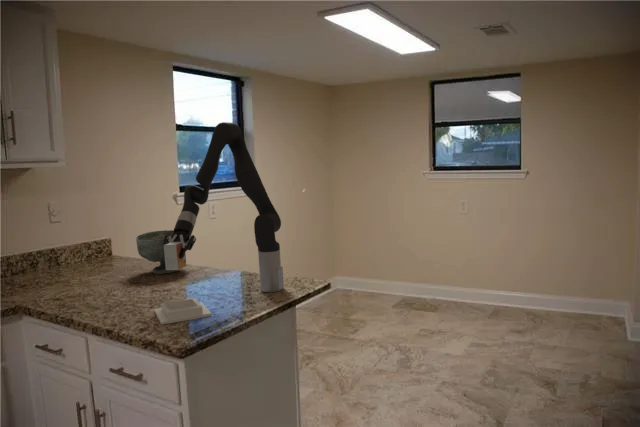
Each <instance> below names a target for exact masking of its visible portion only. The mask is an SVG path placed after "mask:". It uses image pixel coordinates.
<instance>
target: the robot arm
mask: <svg viewBox="0 0 640 427" xmlns="http://www.w3.org/2000/svg"><path fill="white" fill-rule="evenodd" d="M243 135H244V134H243V133H242V130H241V128H240V126H239V125H238V124H237V123H234V122H228V121H227V122H225V121H223V122H219V123H218V124H216V125H215V127H214V129H213V133H212V136H211V139H210V143H209V145H208V148H207V152H206V155H205V158H204V159H203V162H202V164H201V166H200V168H199V170H198V172H197V174H196V176H195V181H196V182H197V183H198V184H199V185H200V186H202V187H203V188H202V187H200V186H197V185H195V184H193V183H192V184H191V183H190V184H188V185H186V187H185V188H184V191H183V205H182V208H181V211H180V213H179V216H178V217H177V220H176V223H175V225H174V228H173V231H174V232H173V234H172V235H171V236H167V235H166V236H165V237H164V242H163V248H164V245H166V244H168V243H172V242H182V249H181V250H180V253H179V258H180V259H182V258H183V257H184V255H185V254H186V252H188V251H191V250H192V249H193V246H194V245H195V243H196V241H197V238H196V236H195V235H194V234H193V231H194V228H195V225H196V221H197V218H198V215H199V212H200V206H201V205H202V206H203V205H204V204H206V203H207V201H208V199H209V194H210V188H211V185H212V182H213V180H214V179H215V177H216V174H217V173H218V169H219V165H220V163H219V162H220V158H221V154H222V152H223V151H224V149H225V147H226V146H228V147H229V149H230V152H231V153H232V156H233V159H234V173H235V177H236V180H237V182H238V185H239V187H240V188H241V190H242V191H243V193H244V194H245V195H246V196H247V198H248V199H249V200H250V201H251V202H252V203H253V204H254V206H255V209H256V210H257V212H258V215H257V216H256V217H255V219H254V223H253V224H254V225H253V230H254V231H253V232H254V239H255V245H256V246H257V252H258V255H257V256H258V271H259V284H260V291H261V292H263V293H277V292H280V291H282V290H283V289H285V288H284V287H285V286H284V269H283V266H282V264H281V247H280V246H281V245H280V243H279V242H278V241H277V240H276V233H277V232H278V231H279V230H280V228H281V227H282V220H281V217H280V214H279V213H278V211H277V210H276V208H275V206H274V205H273V203H272V201H271V199H270V197H269V195H268V193H267V191H266V188H265V185H264V184H263V181H262V179H261V177H260V174H259V172H258V170H257V168H256V166H255V163H254V162H253V159H252V156H251V155H250V152H249V150H248V148H247V145H246V141H245V139H244V136H243ZM199 205H200V206H199ZM192 234H193V235H192ZM170 240H171V241H170ZM188 240H189V242H188V244H187V243H186V242H187V241H188ZM164 256H165V255H164Z"/></svg>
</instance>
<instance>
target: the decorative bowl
mask: <svg viewBox="0 0 640 427" xmlns="http://www.w3.org/2000/svg"><path fill="white" fill-rule="evenodd" d="M173 232H174V229H173V230H156V231H148V232H145V233H141V234H139V235H137V236H136V237H135V240H136V247H137V253H138V255H139V256H140V257H141V258H143V259H145V260H147V261H149V262H153V263H157V262H159V265H158V266H155V267H154V268H153V269H152V273H153V274H157V275H159V274H160V275H163V274H169V273H176V272H179V270H166V266H165V256H164V248H163V242H164V237H165V236H166V235H167V236H171V235H172V234H173ZM170 241H171V240H170ZM188 242H189V240H188V241H187V242H186V243H187V244H188Z"/></svg>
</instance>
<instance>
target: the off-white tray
mask: <svg viewBox="0 0 640 427" xmlns="http://www.w3.org/2000/svg"><path fill="white" fill-rule="evenodd" d="M153 311H154V313H155V315H156V316H155V317H157V320H158V322H159V323H160V325H161V326H162V325H166V324H167V325H168V324H173V323H178V322H184V321H191V320H196V319H201V318H207V317H212V312H211V311H210V310H209V308H208V307H207V306H205V304H204V303H203V302H202V301H198V300H197V299H196V298H195V297H191V298H184V299H178V300H171V301H170V300H169V301H164V302H161V307H160V308H154V310H153Z"/></svg>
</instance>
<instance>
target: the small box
mask: <svg viewBox="0 0 640 427" xmlns="http://www.w3.org/2000/svg"><path fill="white" fill-rule="evenodd" d="M181 249H182V242H172V243H168V244H166V245H164V255H165V266H166V270H178V271H179V270H181V269H182V268H185V267H187V256H186V255H187V254H186V253H185V255H184V257H183V258H182V259H180V258H179V253H180V250H181Z"/></svg>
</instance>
